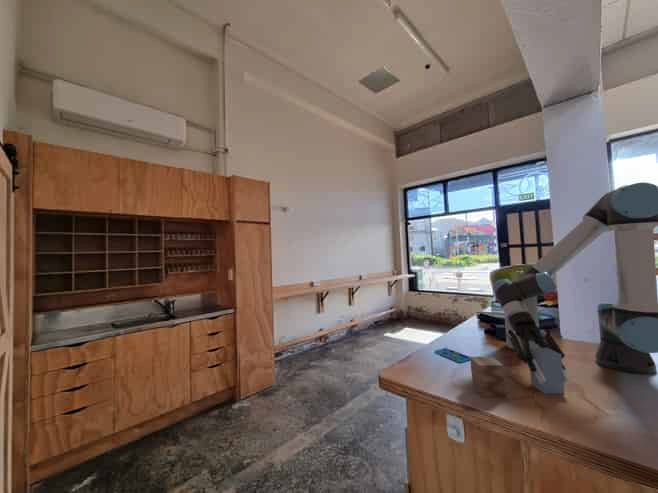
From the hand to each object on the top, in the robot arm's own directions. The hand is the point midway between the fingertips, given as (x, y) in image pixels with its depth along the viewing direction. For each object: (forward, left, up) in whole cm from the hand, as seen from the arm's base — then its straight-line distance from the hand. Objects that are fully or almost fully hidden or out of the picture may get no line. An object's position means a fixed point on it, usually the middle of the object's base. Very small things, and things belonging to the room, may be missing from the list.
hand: (554, 381), depth 83 cm
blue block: (+1, -3, -4) cm, 5 cm away
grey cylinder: (0, -43, -4) cm, 44 cm away
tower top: (+18, +5, +1) cm, 19 cm away
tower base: (+18, +5, -4) cm, 19 cm away
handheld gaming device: (+29, -24, -4) cm, 38 cm away
